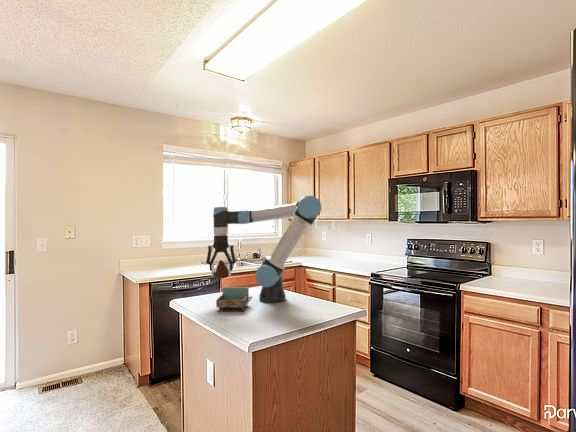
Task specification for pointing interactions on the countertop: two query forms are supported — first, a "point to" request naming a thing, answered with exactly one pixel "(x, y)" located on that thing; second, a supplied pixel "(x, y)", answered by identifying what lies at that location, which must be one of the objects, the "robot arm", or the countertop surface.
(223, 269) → the poop emoji
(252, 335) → the countertop surface
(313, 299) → the countertop surface
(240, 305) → the shallow wooden tray
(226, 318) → the countertop surface
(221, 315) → the countertop surface
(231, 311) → the track
